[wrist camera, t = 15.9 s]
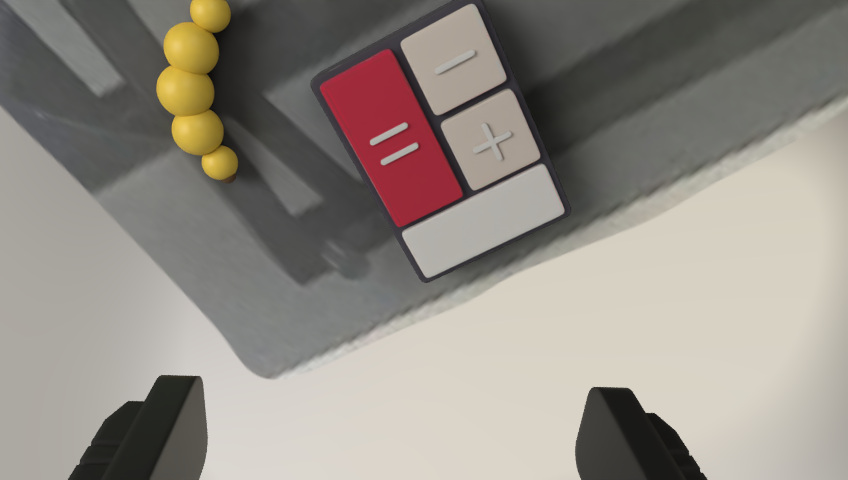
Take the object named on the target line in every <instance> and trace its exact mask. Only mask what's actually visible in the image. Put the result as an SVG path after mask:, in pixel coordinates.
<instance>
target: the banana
mask: <svg viewBox="0 0 848 480" xmlns="http://www.w3.org/2000/svg"><path fill="white" fill-rule="evenodd" d="M190 13H191V17H192V19H193V21H194V23H193V22H184V23H180V24H177V25H175V26H174V27H172V28H171V29H170V30H169V32H168V33H167V35H166V37H165V40H164V52H165V56H166V58H167V60H168V62H169V63H170V64H171V66H169V67H168V68H166V69H165V70H164V71H163V72H162V73H161V75H160V76H159V78H158V81H157V95H158V98H159V100H160V102H161V104H162V105H163V107H164V108H165V109H166V110H168V111H169V112H170V113H172V114H174V115H176V116H175V118H174V120H173V123H172V135H173V138H174V140H175V142H176V143H177V145H178V146H179V147H180V148H181V149H183V150H184V151H186V152H188V153H190V154H194V155H203V157H202V167H203V169H204V171H205V172H206V174H207V175H209V176H210V177H212V178H214V179H217V180H221V181H222V182H223V183H232V182H233V181H234V180H235V178H236V170H237V168H238V159H237V156H236V154H235V153H234V152H233V151H232V150H231V149H230V148H228V147H226V146H222V145H220V144H221V142H222V140H223V135H224V128H223V124H222V122H221V120H220V118H219V117H218V116H217V115H216V114H215V113H214V112H213V111H212V110H210V109H209V108H210V107H211V105H212V103H213V100H214V87H213V83H212V81H211V79H210V78H209V76H208V75H207V74H206V73H208V72H210V71H211V70H212V69H213V68H214V67H215V65H216V63H217V61H218V58H219V47H218V43H217V41H216V39H215V37H214V36H213V34H212V33H214V32H219V31H222V30H223V29H225V28H226V27H227V25H228V24H229V22H230V18H231V11H230V7H229V5H228V3H227V2H226V0H192V2H191V6H190Z"/></svg>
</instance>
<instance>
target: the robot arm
mask: <svg viewBox="0 0 848 480" xmlns="http://www.w3.org/2000/svg"><path fill="white" fill-rule="evenodd" d="M207 439H208V437H207V423H206V412H205V400H204V389H203V382H202V379H201V377H200V376H176V375H175V376H173V375H161V376H159V377H158V378H157V380H156V382H155V383H154V385H153V387H152V389H151V391H150V393H149V394H148V396H147V398H146V400H145V401H144V402H143V401H128V402H126V403H125V404H124V405H123V406H122V407H120V408H119V409H118V410H117V411H115V412H114V413H113V414H112V415H110V416H109V417H108V418H107V419H105V421H104V422H103V424H102V426H101V427H100V429H99V430H98V432H97V434H96V435H95V437H94V438H93V440H92V442H91V446H89V447H88V448H87V450H86V451H85V453H84V455H83V456H82V458H81V459H80V464H79V465H77V466H76V468H75V469H74V471H73V472H72V474H71V475H70V477H69V479H68V480H199V478H200V475H201V472H202V469H203V466H204V462H205V458H206V452H207ZM575 456H576V464H577V469H578V472H579V475H580V478H581V480H707V478H706V477H705V475H704V474H703V473H701V472H700V468H699V466H698V465H697V463H696V461H695V460H694V458H693V457H692V456H690V455H689V451H688V449H687V448H686V446H685V445H684V443H683V442H682V440H681V439H680V437H679V435H678V434H677V432H676V431H675V430H674V429H673V428H672V427H670V426H669V425H668V424H667V423H666V422H665V421H663V420H662V419H661V418H660V417H659V416H657V415H656V414H655V413H645V411H644V410H643V408H642V406H641V405H640V403H639V401H638V400H637V398H636V397H635V395H634V394H633V392H632V391H631V390H630V389H629V388H613V387H612V388H611V387H593V388H591V390H590V391H589V394H588V397H587V401H586V405H585V409H584V413H583V417H582V421H581V424H580V428H579V432H578V437H577V440H576V447H575Z"/></svg>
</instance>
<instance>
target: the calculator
mask: <svg viewBox="0 0 848 480" xmlns="http://www.w3.org/2000/svg"><path fill="white" fill-rule="evenodd" d="M310 85H311V88H312V90H313V92H314V94H315V96H316V98H317V99H318V101H319V103H320V105H321V106H322V108H323V110H324V112H325V113H326V115H327V117H328V119H329V120H330V122H331V124H332V126H333V127H334V129H335V131H336V133H337V135H338V136H339V138H340V140H341V142H342V143H343V145H344V147H345V149H346V150H347V152H348V154H349V156H350V157H351V159H352V161H353V163H354V164H355V166H356V168H357V170H358V171H359V173H360V175H361V177H362V178H363V180H364V182H365V184H366V186H367V187H368V189H369V191H370V193H371V194H372V196H373V198H374V200H375V201H376V203H377V205H378V207H379V208H380V210H381V212H382V214H383V215H384V217H385V219H386V221H387V222H388V224H389V226H390V228H391V229H392V231H393V233H394V235H395V237H396V238H397V240H398V242H399V244H400V245H401V247H402V249H403V251H404V252H405V254H406V256H407V258H408V259H409V261H410V263H411V265H412V266H413V268H414V270H415V272H416V273H417V275H418V277H419V279H420V280H421V281H422V282H424V283H428V282H430V281H433V280H435V279H437V278H439V277H441V276H443V275H445V274H447V273H450V272H452V271H454V270H456V269H458V268H460V267H462V266H464V265H466V264H468V263H471V262H473V261H475V260H477V259H479V258H481V257H483V256H485V255H487V254H490V253H492V252H494V251H496V250H498V249H500V248H502V247H504V246H506V245H509V244H511V243H513V242H515V241H517V240H519V239H521V238H523V237H525V236H528V235H530V234H532V233H534V232H536V231H538V230H540V229H542V228H544V227H546V226H549V225H551V224H553V223H555V222H557V221H559V220H561V219H563V218H565V217H567V216H569V215H570V213H571V207H570V204H569V202H568V200H567V197H566V195H565V193H564V190H563V188H562V186H561V183H560V181H559V179H558V176H557V174H556V172H555V169H554V167H553V164H552V162H551V160H550V157H549V155H548V153H547V150H546V148H545V146H544V143H543V141H542V139H541V136H540V134H539V132H538V129H537V127H536V125H535V122H534V120H533V118H532V115H531V113H530V111H529V108H528V106H527V104H526V101H525V99H524V97H523V94H522V92H521V90H520V87H519V85H518V83H517V80H516V78H515V76H514V73H513V71H512V69H511V66H510V64H509V62H508V59H507V57H506V55H505V52H504V50H503V48H502V45H501V43H500V41H499V38H498V36H497V34H496V31H495V29H494V27H493V24H492V22H491V20H490V17H489V15H488V13H487V10H486V8H485V6H484V3H483V1H482V0H452V1H451V2H449V3H447V4H445V5H443V6H441V7H439V8H438V9H436V10H434V11H432V12H430V13H428V14H427V15H425V16H423V17H421V18H419V19H417V20H416V21H414V22H412V23H410V24H408V25H406V26H404V27H403V28H401V29H399V30H397V31H395V32H393V33H392V34H390V35H388V36H386V37H384V38H382V39H381V40H379V41H377V42H375V43H373V44H371V45H369V46H368V47H366V48H364V49H362V50H360V51H358V52H357V53H355V54H353V55H351V56H349V57H347V58H346V59H344V60H342V61H340V62H338V63H336V64H334V65H333V66H331V67H329V68H327V69H325V70H323V71H322V72H320V73H318V74H317V75H316V76H315V77H314V78H313V79H312V80H311V83H310Z"/></svg>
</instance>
